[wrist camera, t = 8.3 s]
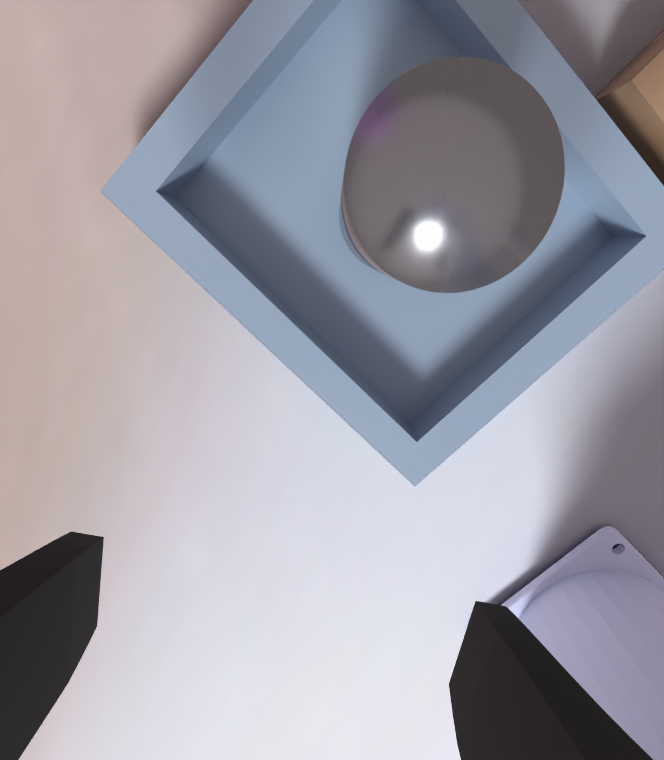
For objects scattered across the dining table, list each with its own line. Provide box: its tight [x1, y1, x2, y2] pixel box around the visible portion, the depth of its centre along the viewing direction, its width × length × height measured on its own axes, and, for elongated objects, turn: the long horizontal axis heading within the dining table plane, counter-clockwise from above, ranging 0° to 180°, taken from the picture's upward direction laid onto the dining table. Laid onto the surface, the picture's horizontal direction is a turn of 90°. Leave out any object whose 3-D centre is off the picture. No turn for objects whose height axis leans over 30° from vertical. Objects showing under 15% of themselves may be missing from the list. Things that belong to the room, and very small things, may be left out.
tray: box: [100, 0, 664, 486], centre depth 16 cm, size 14×12×2 cm
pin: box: [339, 56, 565, 293], centre depth 13 cm, size 4×4×8 cm
